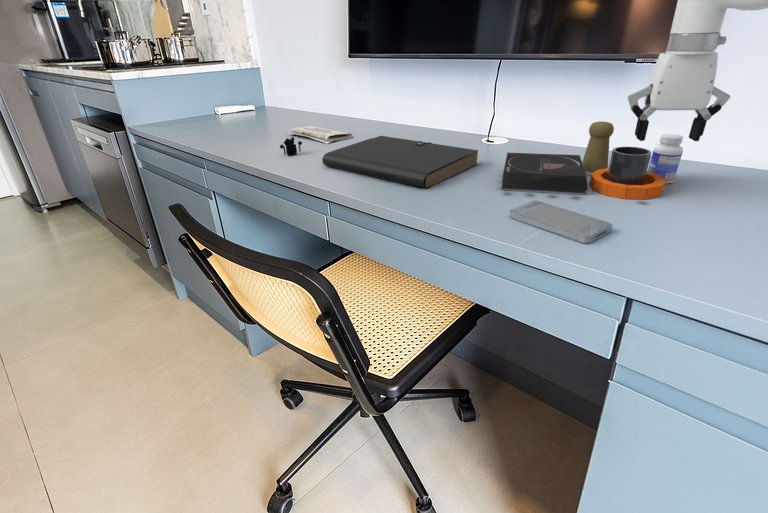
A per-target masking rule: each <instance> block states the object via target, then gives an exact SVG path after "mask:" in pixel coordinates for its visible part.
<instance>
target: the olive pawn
mask: <svg viewBox="0 0 768 513" xmlns="http://www.w3.org/2000/svg"><path fill="white" fill-rule="evenodd" d="M614 131H615V126H614V124H613V123H611V122H609V121H594V122H593V123H591V124H590V126H589V129H588V135H589V136H590V137H589V140H588V143H587V146H586V149H585V153H584V156H583V159H582V164H583V167H584V170H585V172H589V173H593V172H595V171H596V170H600V169H606V168H609V155H610V153H609V152H610V138H611V136H613V134H614Z"/></svg>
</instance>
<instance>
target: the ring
mask: <svg viewBox="0 0 768 513" xmlns="http://www.w3.org/2000/svg"><path fill="white" fill-rule="evenodd" d="M608 169H609V167H608V168H606V169H600V170H596V171H595V172H591V174H590V175H591V176H590V180H589V183H588V184H589V187H590V188H591V190H592V191H593V192H594V191H595V192H597V193H599V194H602V195H604V196H607V197H612V198H618V199H623V200H650V199H655V198H659V197H660V196H661V195H662V194H663V193H664V191H665V186H666V184H665V183H666V180H665V179H664V178H662V177H661V176H660V175H657V174H654V173H651V172H648V170H647V172H646V177H645V181H644V185H625V184H620V183H614V182H611V181H608V180H606V179H607V174H608Z"/></svg>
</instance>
